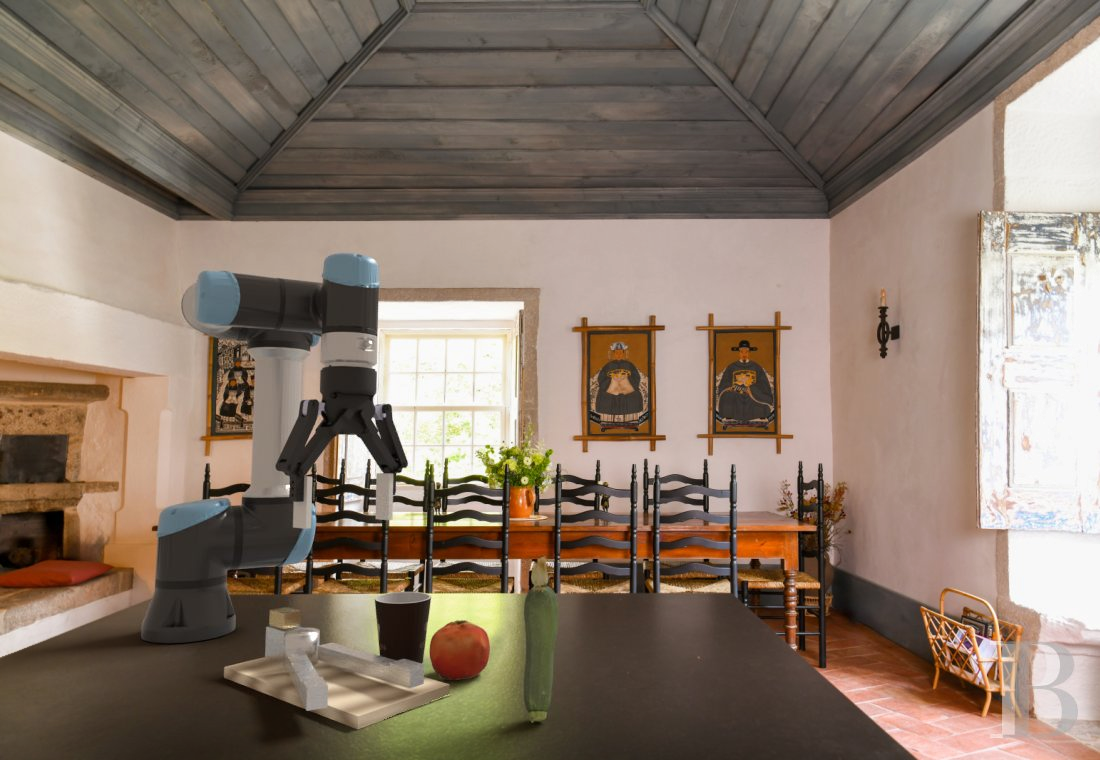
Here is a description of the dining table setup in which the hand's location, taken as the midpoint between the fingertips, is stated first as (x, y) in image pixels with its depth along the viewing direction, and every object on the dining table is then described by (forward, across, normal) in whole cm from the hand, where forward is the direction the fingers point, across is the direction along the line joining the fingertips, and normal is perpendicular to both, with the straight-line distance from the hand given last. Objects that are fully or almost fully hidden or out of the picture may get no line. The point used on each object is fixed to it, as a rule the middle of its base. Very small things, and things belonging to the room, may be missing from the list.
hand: (345, 523), depth 100 cm
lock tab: (+17, +4, +18) cm, 25 cm away
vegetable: (+23, +10, -25) cm, 36 cm away
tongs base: (+21, +4, +6) cm, 22 cm away
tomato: (+23, +17, -6) cm, 29 cm away
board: (+23, +3, +6) cm, 24 cm away
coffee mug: (+23, +18, +6) cm, 30 cm away
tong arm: (+21, -4, +3) cm, 21 cm away
